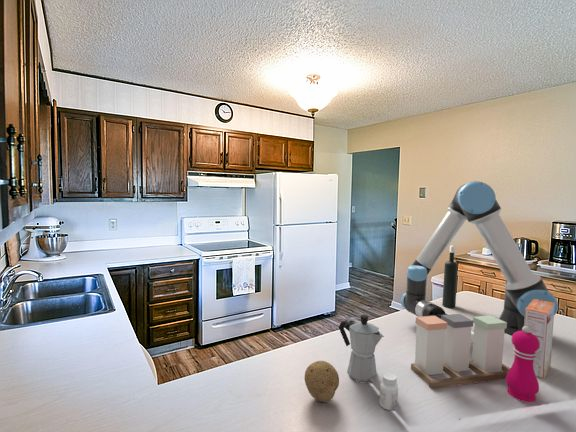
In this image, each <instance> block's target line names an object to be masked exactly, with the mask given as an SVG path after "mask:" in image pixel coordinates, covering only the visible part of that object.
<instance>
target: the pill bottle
mask: <svg viewBox="0 0 576 432" xmlns="http://www.w3.org/2000/svg"><path fill="white" fill-rule="evenodd" d="M381 378H382V379H381V382H380V384H379V385H380V386H379V405H380V407H381V408H382V407H383V408H382V409H384V410H386V409H387V411H395V408H394V406H397V405H398V402H399V401H398V398H399V386H398V384H397V383H398V378H397V375H396V374H394V373H392V372H383V374H382V377H381Z"/></svg>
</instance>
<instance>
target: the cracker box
mask: <svg viewBox="0 0 576 432" xmlns="http://www.w3.org/2000/svg"><path fill="white" fill-rule="evenodd" d="M554 308H555V303H553V302H547V301H543V300H538V299H533V300H532V302H531V303H530V304H529V305H528V306H527V308H526V309H525V320H524V326H527V327H529V328H530V333H532V334H534V335H535V336H536V337H537V338H538V340H539V343H540V346H539V349H538V350H537V351H535V352H536V359H534V362H533V368H534V372H535V375H536V377H537V378H540V379H545V377H546V375H547V373H548V371H549V369H550V367H551V363H552V346H553V334H554V320H555V315H554Z"/></svg>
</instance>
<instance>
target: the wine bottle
mask: <svg viewBox="0 0 576 432" xmlns="http://www.w3.org/2000/svg"><path fill="white" fill-rule="evenodd" d="M455 252H456V245H452V244H451V245H450V244H449V260H447V261H445V263H444V267H443V268H444V269H443V270H444V273H443V287H442V304H441V305H442V307H444V308H448V309H455V308H456V306H457V303H456V301H457V288H458V269H459V268H458V267H459V264H458V263H457V262H456V261H455Z"/></svg>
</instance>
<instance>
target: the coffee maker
mask: <svg viewBox="0 0 576 432" xmlns="http://www.w3.org/2000/svg"><path fill="white" fill-rule="evenodd" d="M368 320H369V315H367V314H360V321H357V322H356V320H353V319H350V320H349V321H347V320H342V321H341V322H340V324H339V326H338V329H339V333H340V334H341V336H342V339H343V341H344V344H345V346H346V347H349V345H350V349H352V350H351V352H350V357H349V362H348V367H347V371H346V372H347V374H349V375H348V377H349V379H351V378H352V379H351V380H353V379H354V381H355V380H357V381H359V382H358V383H360V382H371V383H373V382H372V380H370V379H371V378H373V377H375V376H376V375H377V366H376V358H375V350H376V347H377V345H378V344H379V342H380V341H381V340H382V338H384V337H385V336H384V335H383V334H382V332H380V331H379V329H380V327H378V326H376V325H375V324H374V323H370V322H368ZM346 330H347V331H348V332H349V337H348V335H347V332H346ZM349 338H350V340H349ZM357 381H356V382H357Z"/></svg>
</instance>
